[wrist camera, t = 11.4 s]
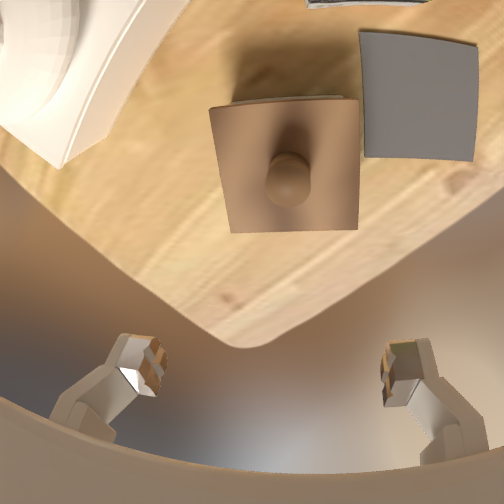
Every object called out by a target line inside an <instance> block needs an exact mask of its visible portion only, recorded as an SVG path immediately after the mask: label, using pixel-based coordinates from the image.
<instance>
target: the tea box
mask: <svg viewBox="0 0 504 504" xmlns="http://www.w3.org/2000/svg"><path fill="white" fill-rule="evenodd" d="M304 1H305V5H306V7H307V9H317V8H327V7H337V6H353V5H397V6H414V5H418V4H421V3H425V2H428V1H431V0H304Z"/></svg>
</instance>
